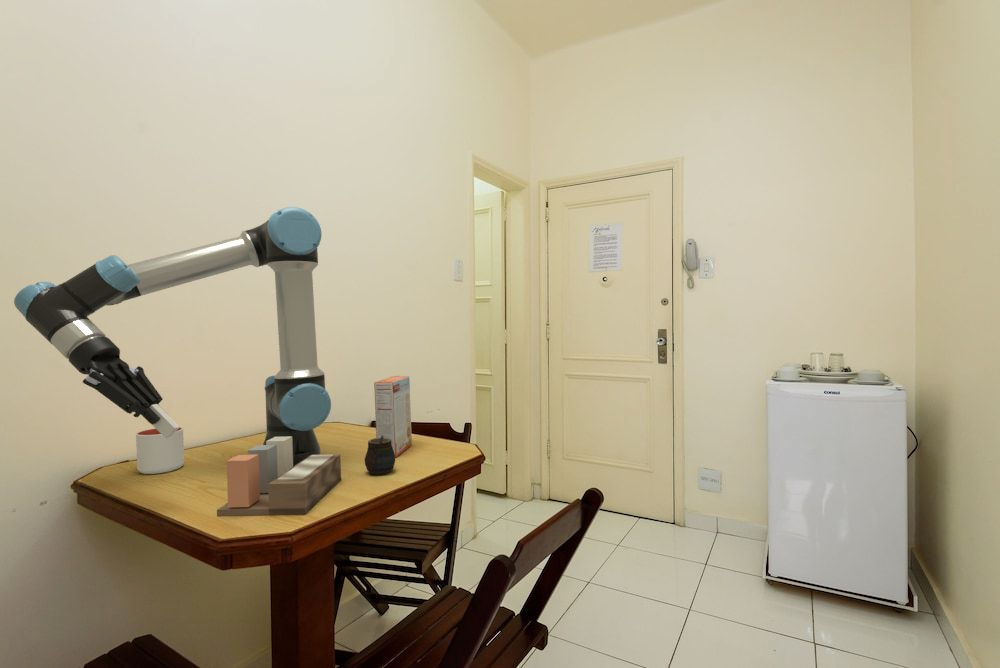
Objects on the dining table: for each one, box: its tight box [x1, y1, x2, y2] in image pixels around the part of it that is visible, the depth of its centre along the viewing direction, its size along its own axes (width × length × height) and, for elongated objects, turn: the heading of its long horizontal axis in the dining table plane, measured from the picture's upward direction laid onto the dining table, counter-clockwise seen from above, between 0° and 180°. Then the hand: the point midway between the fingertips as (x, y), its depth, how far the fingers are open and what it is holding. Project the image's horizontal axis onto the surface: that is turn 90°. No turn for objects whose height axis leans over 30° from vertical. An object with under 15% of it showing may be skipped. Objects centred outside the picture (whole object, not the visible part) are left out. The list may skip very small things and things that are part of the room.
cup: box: [135, 427, 185, 475], centre depth 128 cm, size 10×10×10 cm
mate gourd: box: [364, 435, 396, 476], centre depth 122 cm, size 7×8×10 cm
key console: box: [216, 454, 342, 517], centre depth 106 cm, size 21×17×6 cm
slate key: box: [247, 444, 278, 493], centre depth 106 cm, size 4×4×9 cm
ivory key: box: [266, 436, 294, 477], centre depth 114 cm, size 4×4×9 cm
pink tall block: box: [226, 454, 260, 507], centre depth 98 cm, size 4×4×9 cm
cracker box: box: [373, 375, 413, 459], centre depth 142 cm, size 14×6×21 cm, turn 172°
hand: (172, 432), depth 98 cm, fingers closed
